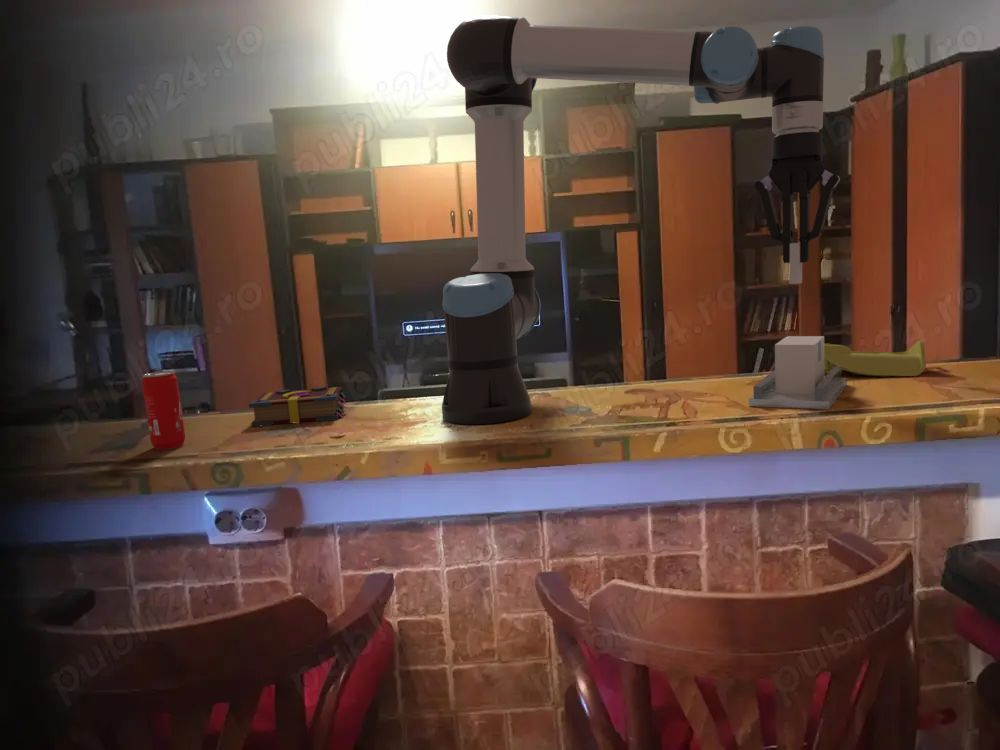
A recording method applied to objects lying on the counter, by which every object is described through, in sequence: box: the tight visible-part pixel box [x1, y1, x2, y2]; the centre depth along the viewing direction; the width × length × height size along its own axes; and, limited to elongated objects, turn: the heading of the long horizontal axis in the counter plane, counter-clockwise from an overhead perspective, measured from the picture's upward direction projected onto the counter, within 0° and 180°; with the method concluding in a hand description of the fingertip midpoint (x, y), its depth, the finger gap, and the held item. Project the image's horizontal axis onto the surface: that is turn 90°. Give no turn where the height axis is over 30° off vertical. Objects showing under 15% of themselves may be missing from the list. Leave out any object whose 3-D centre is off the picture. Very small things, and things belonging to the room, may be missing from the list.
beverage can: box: [141, 370, 186, 451], centre depth 126 cm, size 5×5×12 cm
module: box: [774, 335, 826, 395], centre depth 130 cm, size 6×10×8 cm, turn 149°
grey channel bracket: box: [748, 366, 848, 410], centre depth 131 cm, size 12×20×3 cm, turn 149°
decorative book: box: [248, 385, 348, 427], centre depth 144 cm, size 11×16×5 cm
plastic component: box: [824, 340, 927, 378], centre depth 146 cm, size 20×7×10 cm
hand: (795, 283), depth 128 cm, fingers closed
